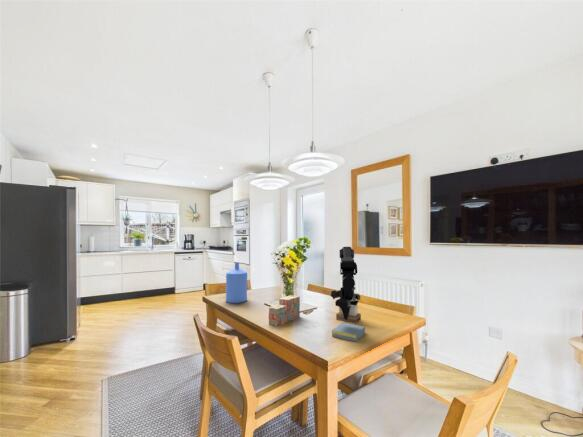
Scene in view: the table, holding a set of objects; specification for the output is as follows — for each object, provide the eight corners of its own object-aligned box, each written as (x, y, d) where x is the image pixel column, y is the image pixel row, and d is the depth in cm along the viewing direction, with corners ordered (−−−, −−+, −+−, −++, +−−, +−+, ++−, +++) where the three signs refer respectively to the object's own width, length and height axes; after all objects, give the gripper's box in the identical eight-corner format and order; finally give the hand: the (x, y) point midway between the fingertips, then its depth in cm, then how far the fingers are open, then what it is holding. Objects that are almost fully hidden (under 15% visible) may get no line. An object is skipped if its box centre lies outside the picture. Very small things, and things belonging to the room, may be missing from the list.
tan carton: (342, 311, 135) (342, 303, 135) (349, 312, 133) (349, 304, 133) (339, 313, 131) (339, 305, 132) (347, 314, 129) (346, 306, 130)
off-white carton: (349, 312, 133) (349, 304, 133) (357, 314, 131) (357, 305, 131) (347, 314, 129) (346, 306, 130) (355, 316, 127) (354, 307, 127)
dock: (342, 328, 139) (342, 322, 139) (365, 332, 132) (365, 326, 133) (331, 336, 128) (331, 330, 128) (355, 341, 121) (355, 335, 121)
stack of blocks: (277, 326, 142) (277, 303, 143) (268, 324, 146) (268, 301, 146) (299, 316, 159) (299, 296, 160) (291, 315, 163) (291, 294, 164)
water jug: (250, 301, 195) (250, 263, 197) (229, 304, 187) (229, 264, 189) (242, 297, 209) (243, 261, 210) (223, 299, 201) (223, 262, 202)
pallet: (341, 316, 136) (341, 310, 137) (360, 319, 131) (360, 313, 131) (336, 320, 131) (336, 313, 131) (356, 323, 125) (355, 317, 125)
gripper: (340, 281, 144) (340, 310, 143) (325, 286, 128) (325, 319, 127) (360, 283, 138) (360, 313, 137) (347, 289, 122) (347, 323, 121)
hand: (348, 317), depth 131 cm, fingers closed on pallet, 7 cm apart
